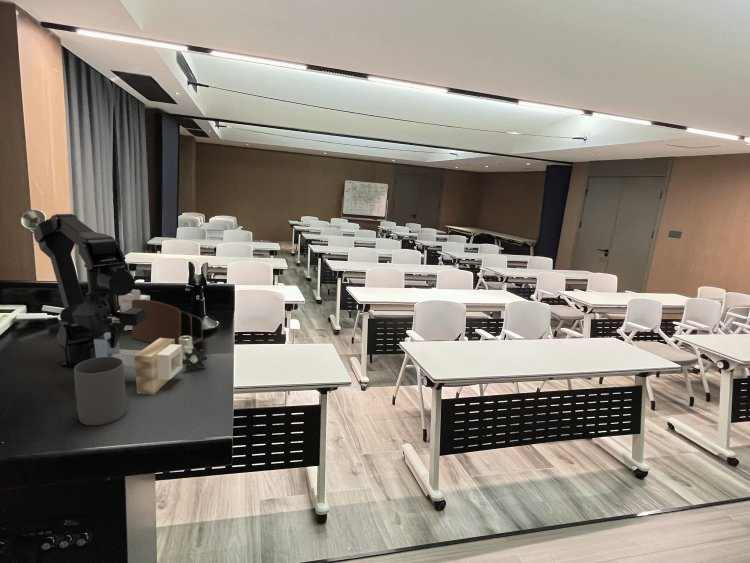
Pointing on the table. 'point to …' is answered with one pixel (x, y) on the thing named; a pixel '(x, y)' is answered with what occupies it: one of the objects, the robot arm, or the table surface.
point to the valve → (190, 353)
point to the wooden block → (150, 367)
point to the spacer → (169, 361)
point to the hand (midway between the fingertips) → (107, 347)
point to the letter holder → (166, 323)
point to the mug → (100, 390)
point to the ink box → (130, 302)
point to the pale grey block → (114, 350)
